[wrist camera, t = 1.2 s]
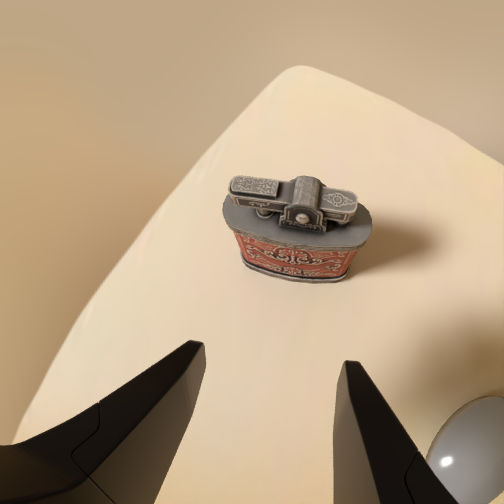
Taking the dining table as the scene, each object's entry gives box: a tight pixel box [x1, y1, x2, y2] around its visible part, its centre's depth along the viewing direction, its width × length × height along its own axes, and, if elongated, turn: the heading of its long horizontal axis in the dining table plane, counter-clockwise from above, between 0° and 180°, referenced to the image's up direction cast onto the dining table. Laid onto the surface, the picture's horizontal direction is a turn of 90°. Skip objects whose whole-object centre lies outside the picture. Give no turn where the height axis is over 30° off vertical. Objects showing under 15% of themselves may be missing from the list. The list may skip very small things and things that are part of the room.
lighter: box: [223, 176, 372, 284], centre depth 19 cm, size 8×3×10 cm, turn 78°
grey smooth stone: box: [426, 396, 504, 504], centre depth 15 cm, size 10×10×2 cm
